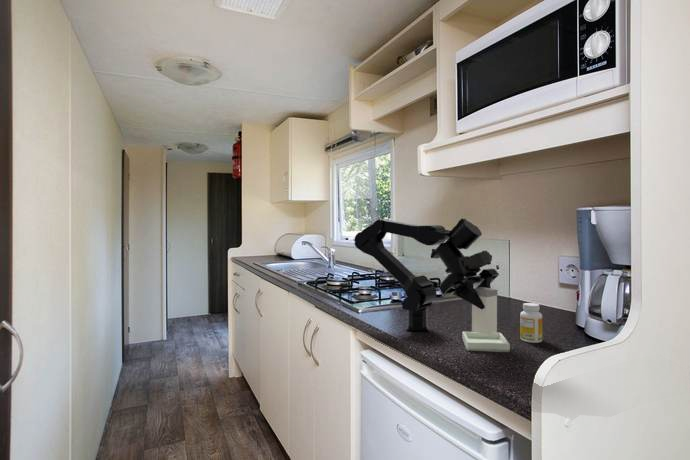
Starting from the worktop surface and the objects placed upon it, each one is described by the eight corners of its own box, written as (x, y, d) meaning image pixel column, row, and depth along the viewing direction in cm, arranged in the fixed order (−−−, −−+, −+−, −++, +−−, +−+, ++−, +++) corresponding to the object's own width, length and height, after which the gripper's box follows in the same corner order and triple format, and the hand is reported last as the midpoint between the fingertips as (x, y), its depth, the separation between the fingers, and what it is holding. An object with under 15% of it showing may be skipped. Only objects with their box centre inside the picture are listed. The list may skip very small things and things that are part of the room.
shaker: (471, 330, 105) (471, 288, 105) (482, 328, 107) (482, 287, 107) (486, 334, 101) (486, 291, 101) (497, 331, 104) (497, 289, 103)
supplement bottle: (536, 337, 111) (535, 302, 111) (546, 343, 106) (546, 306, 105) (516, 337, 111) (516, 302, 110) (526, 343, 105) (526, 306, 105)
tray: (462, 338, 110) (462, 331, 110) (500, 340, 108) (500, 332, 108) (467, 350, 100) (467, 342, 100) (509, 352, 99) (509, 344, 99)
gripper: (448, 242, 101) (486, 292, 93) (492, 239, 112) (530, 284, 104) (425, 270, 108) (458, 319, 99) (469, 265, 119) (502, 309, 110)
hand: (489, 307), depth 103 cm, fingers closed on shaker, 4 cm apart
